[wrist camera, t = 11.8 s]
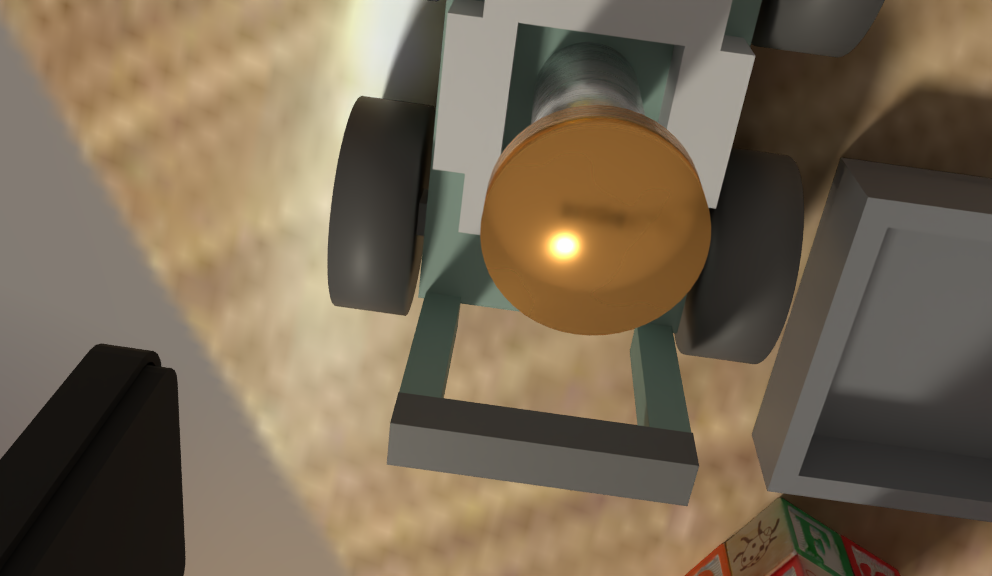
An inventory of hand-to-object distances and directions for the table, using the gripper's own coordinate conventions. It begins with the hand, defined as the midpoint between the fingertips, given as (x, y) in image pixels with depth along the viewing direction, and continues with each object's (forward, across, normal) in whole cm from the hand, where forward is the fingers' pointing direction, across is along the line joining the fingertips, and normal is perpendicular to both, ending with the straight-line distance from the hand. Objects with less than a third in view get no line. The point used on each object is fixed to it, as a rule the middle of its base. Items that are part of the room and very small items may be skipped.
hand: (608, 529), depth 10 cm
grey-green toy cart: (+20, 0, 0) cm, 20 cm away
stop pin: (+16, 0, 0) cm, 16 cm away
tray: (+20, -14, +8) cm, 26 cm away
